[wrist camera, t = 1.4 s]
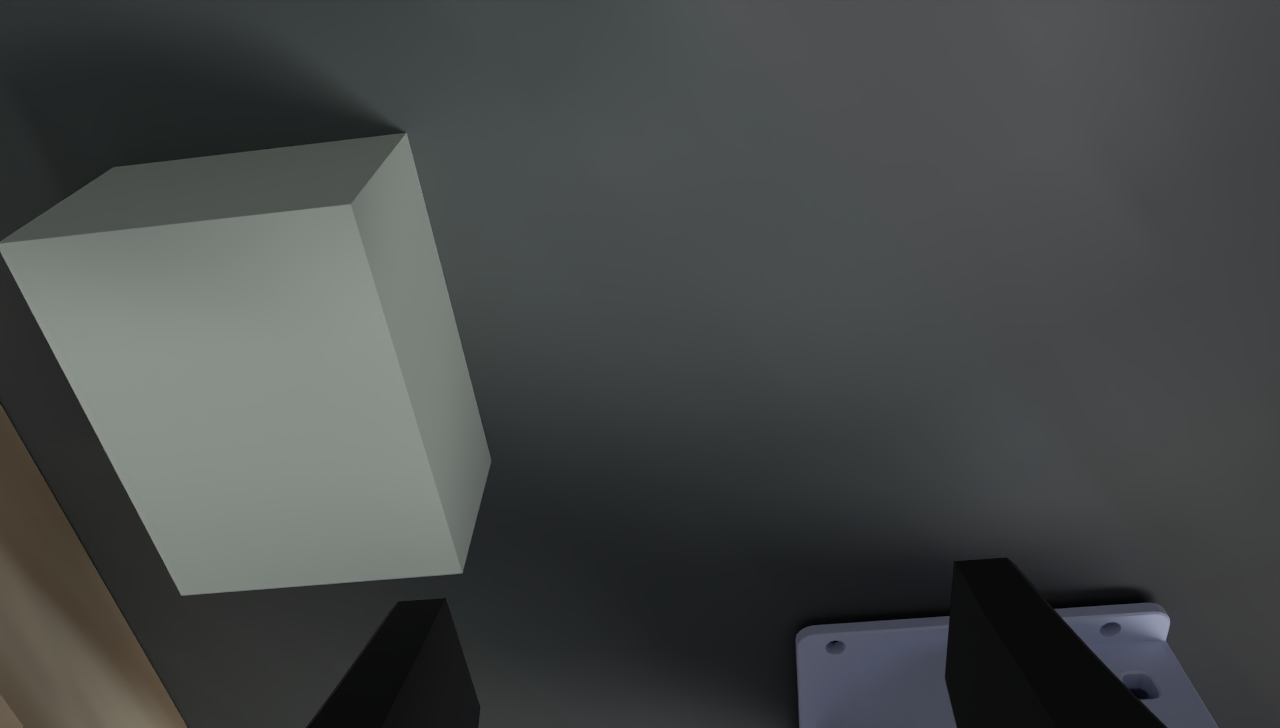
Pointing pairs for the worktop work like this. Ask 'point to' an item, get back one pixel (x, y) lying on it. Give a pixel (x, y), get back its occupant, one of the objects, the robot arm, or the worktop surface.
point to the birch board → (62, 619)
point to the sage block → (267, 361)
